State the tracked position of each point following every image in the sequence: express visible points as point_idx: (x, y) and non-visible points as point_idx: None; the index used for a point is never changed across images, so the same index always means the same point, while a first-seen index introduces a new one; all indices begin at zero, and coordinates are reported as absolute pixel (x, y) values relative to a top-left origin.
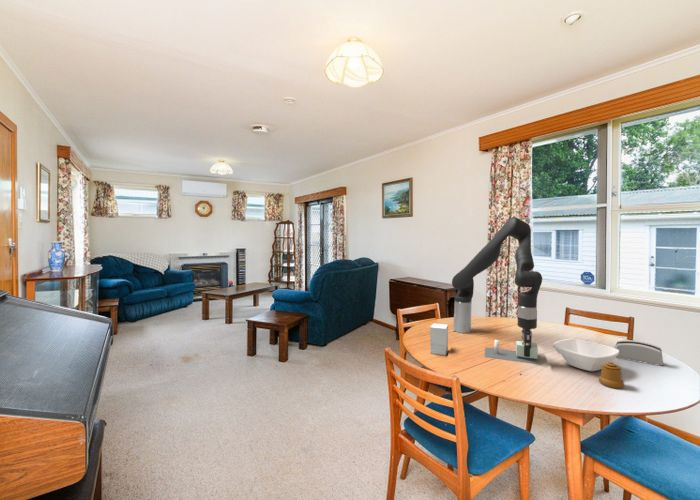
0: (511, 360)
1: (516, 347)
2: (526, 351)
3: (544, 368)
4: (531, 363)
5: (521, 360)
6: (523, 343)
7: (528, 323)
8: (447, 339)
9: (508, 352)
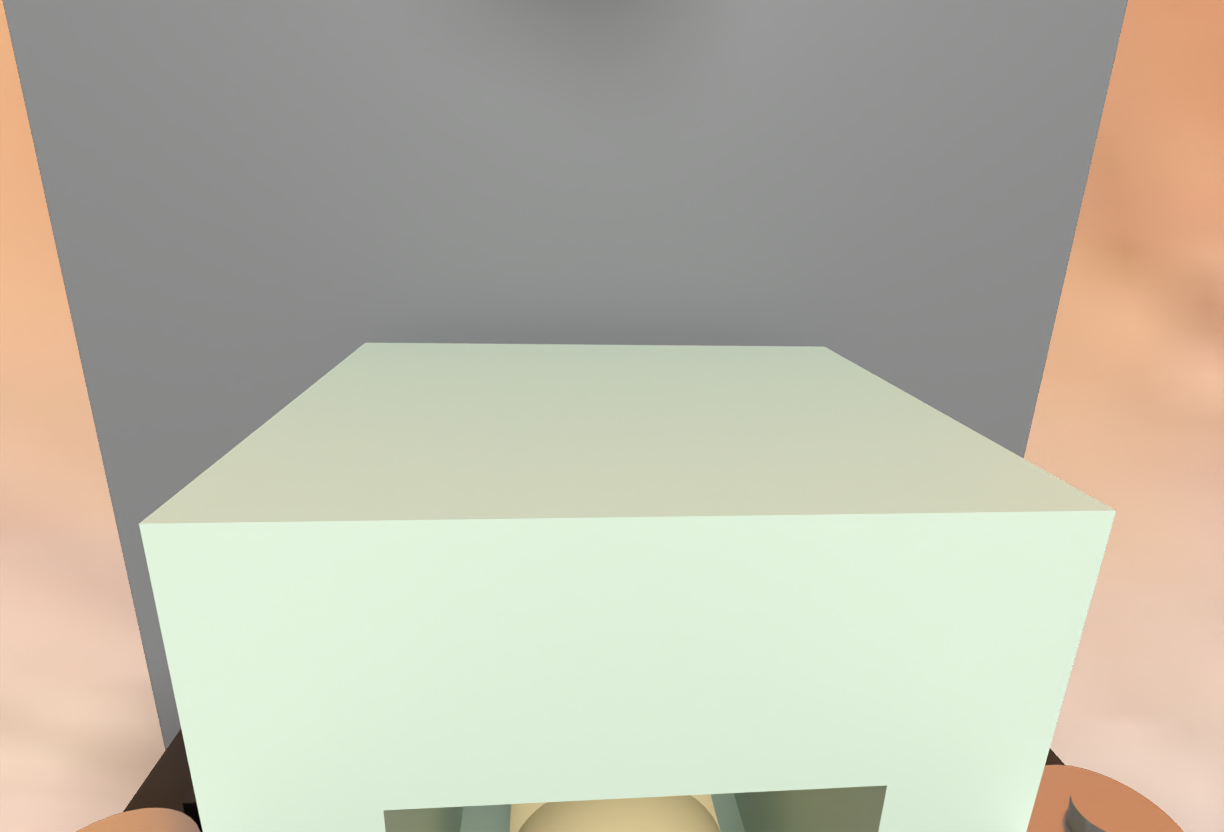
0: (66, 156)
1: (527, 421)
2: (186, 767)
3: None
4: (151, 664)
5: None
6: (847, 805)
7: None
8: None
9: (853, 112)
